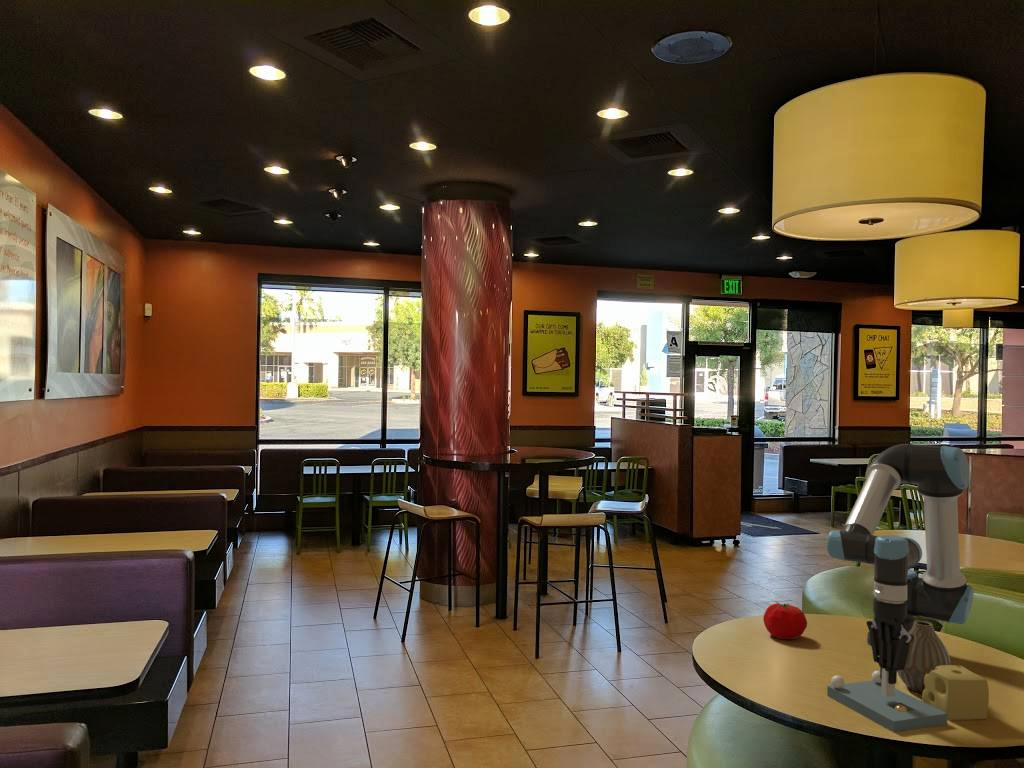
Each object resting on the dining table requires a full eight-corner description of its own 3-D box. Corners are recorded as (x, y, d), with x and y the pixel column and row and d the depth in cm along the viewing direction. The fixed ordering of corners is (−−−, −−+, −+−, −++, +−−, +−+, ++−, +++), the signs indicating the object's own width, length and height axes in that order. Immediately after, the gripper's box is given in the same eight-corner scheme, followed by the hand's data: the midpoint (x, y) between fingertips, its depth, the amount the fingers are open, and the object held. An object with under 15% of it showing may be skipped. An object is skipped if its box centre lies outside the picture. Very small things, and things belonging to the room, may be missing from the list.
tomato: (755, 635, 251) (756, 602, 251) (775, 628, 259) (775, 595, 259) (794, 646, 241) (795, 612, 241) (814, 638, 249) (814, 604, 249)
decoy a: (878, 680, 208) (878, 668, 208) (888, 684, 205) (888, 672, 205) (868, 681, 207) (869, 669, 207) (878, 686, 204) (878, 673, 204)
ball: (908, 702, 190) (913, 717, 188) (899, 705, 192) (904, 719, 191) (897, 704, 189) (902, 718, 187) (888, 706, 192) (893, 720, 190)
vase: (956, 689, 209) (958, 623, 209) (941, 703, 200) (942, 634, 200) (904, 675, 218) (905, 612, 218) (886, 688, 209) (888, 622, 209)
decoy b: (838, 685, 204) (838, 672, 204) (847, 689, 201) (847, 677, 201) (828, 686, 203) (828, 674, 203) (837, 691, 200) (837, 678, 200)
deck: (877, 689, 208) (877, 679, 208) (947, 724, 187) (947, 713, 187) (827, 695, 203) (827, 685, 203) (893, 732, 182) (893, 721, 182)
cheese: (921, 703, 199) (922, 664, 199) (961, 703, 200) (962, 664, 200) (947, 721, 189) (948, 680, 189) (990, 720, 190) (991, 679, 190)
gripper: (858, 593, 199) (856, 686, 199) (898, 607, 187) (896, 707, 187) (882, 591, 201) (880, 683, 201) (923, 605, 189) (921, 704, 189)
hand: (887, 695), depth 194 cm, fingers closed
